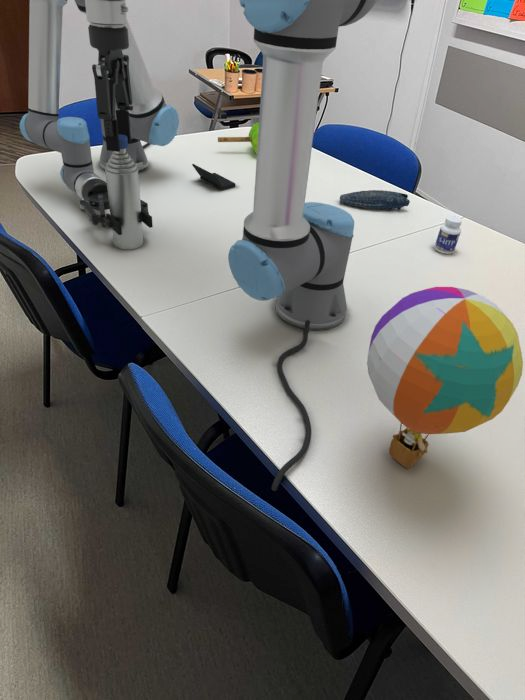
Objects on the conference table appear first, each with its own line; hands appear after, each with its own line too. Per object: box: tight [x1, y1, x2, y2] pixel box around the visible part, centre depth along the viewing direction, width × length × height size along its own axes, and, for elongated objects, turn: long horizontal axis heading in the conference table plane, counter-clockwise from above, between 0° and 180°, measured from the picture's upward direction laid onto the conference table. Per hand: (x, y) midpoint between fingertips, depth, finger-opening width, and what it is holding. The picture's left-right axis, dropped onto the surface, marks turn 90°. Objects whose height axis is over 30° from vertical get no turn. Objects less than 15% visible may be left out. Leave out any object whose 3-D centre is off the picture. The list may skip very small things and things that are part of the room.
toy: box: [366, 286, 524, 469], centre depth 73 cm, size 20×20×30 cm
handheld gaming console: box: [191, 163, 236, 191], centre depth 163 cm, size 12×7×10 cm
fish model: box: [339, 189, 411, 211], centre depth 158 cm, size 7×21×5 cm, turn 84°
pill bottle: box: [434, 215, 463, 255], centre depth 137 cm, size 5×5×9 cm
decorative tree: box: [217, 121, 259, 155], centre depth 187 cm, size 18×10×30 cm
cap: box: [119, 134, 128, 149], centre depth 115 cm, size 4×4×2 cm
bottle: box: [104, 148, 144, 250], centre depth 123 cm, size 7×7×25 cm
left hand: (135, 225), depth 124 cm, fingers closed on bottle, 7 cm apart
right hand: (119, 145), depth 116 cm, fingers open, 6 cm apart
